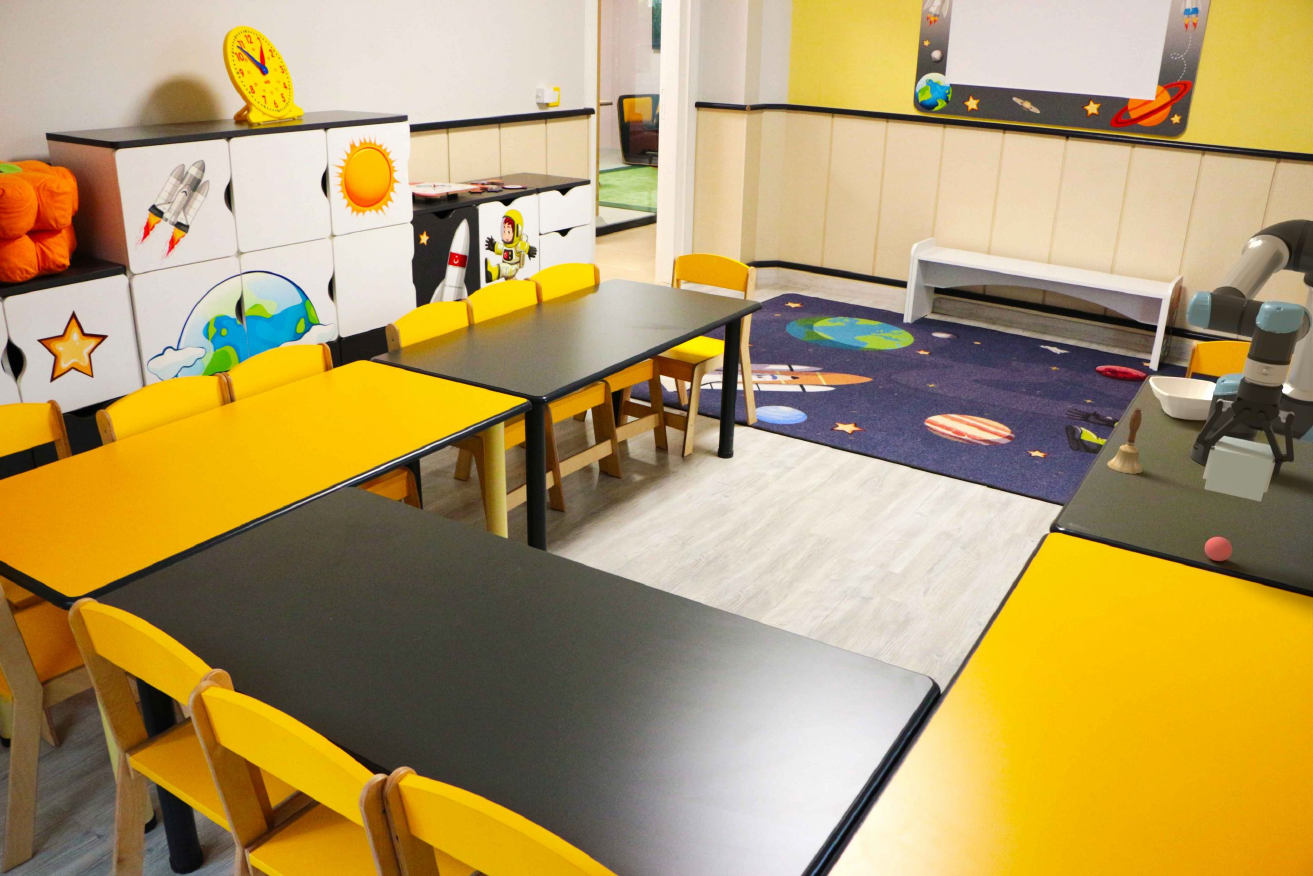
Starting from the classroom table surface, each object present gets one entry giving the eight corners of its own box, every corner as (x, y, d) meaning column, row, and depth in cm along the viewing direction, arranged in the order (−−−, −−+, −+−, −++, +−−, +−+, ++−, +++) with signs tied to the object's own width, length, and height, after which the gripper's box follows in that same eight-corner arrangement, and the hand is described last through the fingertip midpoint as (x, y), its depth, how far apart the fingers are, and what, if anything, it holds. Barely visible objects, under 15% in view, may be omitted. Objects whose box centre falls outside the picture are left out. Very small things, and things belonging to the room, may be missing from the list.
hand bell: (1146, 476, 252) (1160, 415, 247) (1110, 472, 254) (1124, 412, 248) (1138, 463, 260) (1152, 404, 254) (1104, 459, 261) (1116, 401, 256)
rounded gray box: (1207, 473, 216) (1218, 434, 213) (1262, 485, 211) (1273, 445, 208) (1204, 489, 208) (1214, 448, 205) (1260, 501, 203) (1272, 460, 200)
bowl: (1156, 424, 288) (1163, 396, 285) (1136, 401, 307) (1142, 374, 304) (1233, 431, 286) (1241, 402, 282) (1209, 407, 305) (1216, 380, 301)
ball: (1213, 551, 207) (1208, 567, 210) (1238, 548, 207) (1233, 564, 210) (1203, 533, 211) (1198, 549, 214) (1228, 530, 210) (1223, 546, 214)
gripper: (1197, 373, 204) (1172, 475, 211) (1330, 397, 193) (1298, 503, 201) (1200, 365, 210) (1175, 464, 218) (1329, 387, 199) (1298, 491, 207)
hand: (1234, 483), depth 209 cm, fingers closed on rounded gray box, 10 cm apart
